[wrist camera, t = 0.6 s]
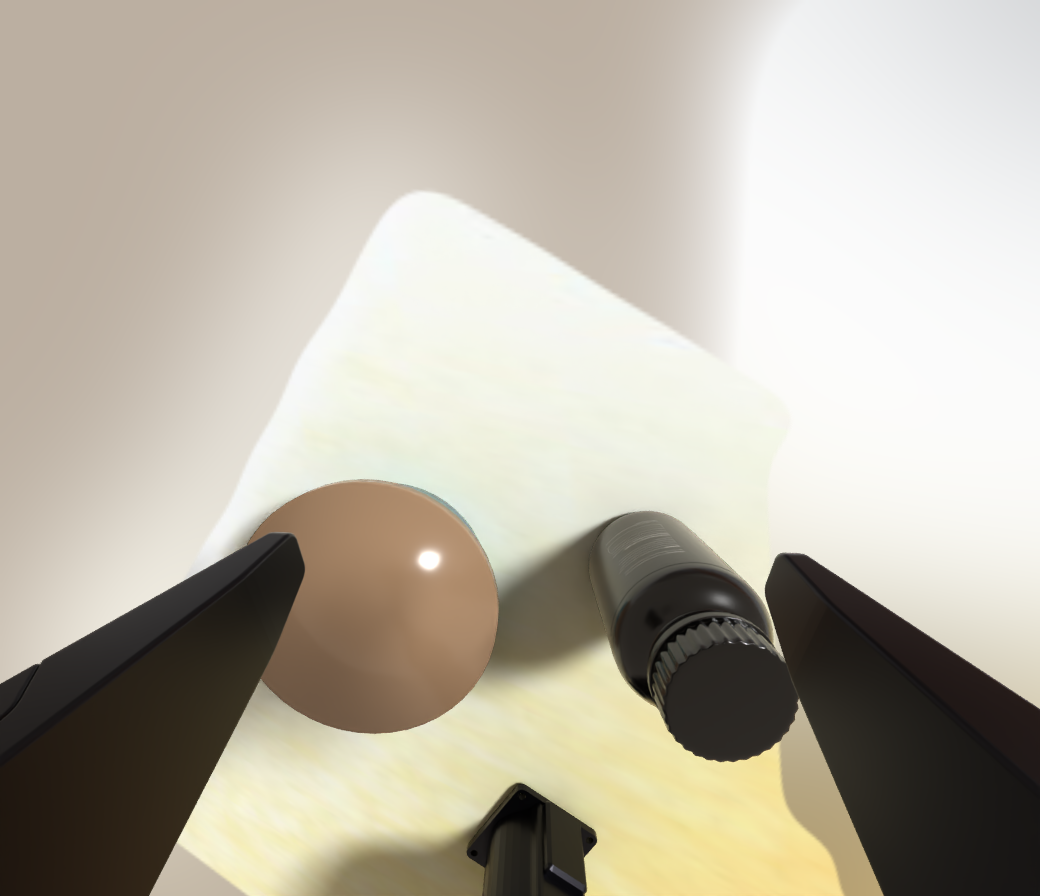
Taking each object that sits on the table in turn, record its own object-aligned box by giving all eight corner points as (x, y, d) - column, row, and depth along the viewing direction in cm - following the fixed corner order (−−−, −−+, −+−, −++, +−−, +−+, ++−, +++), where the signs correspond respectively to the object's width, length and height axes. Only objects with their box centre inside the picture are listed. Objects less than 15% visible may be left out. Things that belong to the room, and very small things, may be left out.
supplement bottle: (579, 606, 28) (613, 775, 16) (596, 501, 27) (646, 597, 15) (689, 621, 28) (806, 801, 16) (710, 516, 27) (852, 624, 15)
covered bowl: (422, 718, 29) (402, 778, 25) (240, 598, 28) (185, 639, 24) (548, 553, 27) (551, 587, 23) (357, 420, 26) (321, 428, 22)
